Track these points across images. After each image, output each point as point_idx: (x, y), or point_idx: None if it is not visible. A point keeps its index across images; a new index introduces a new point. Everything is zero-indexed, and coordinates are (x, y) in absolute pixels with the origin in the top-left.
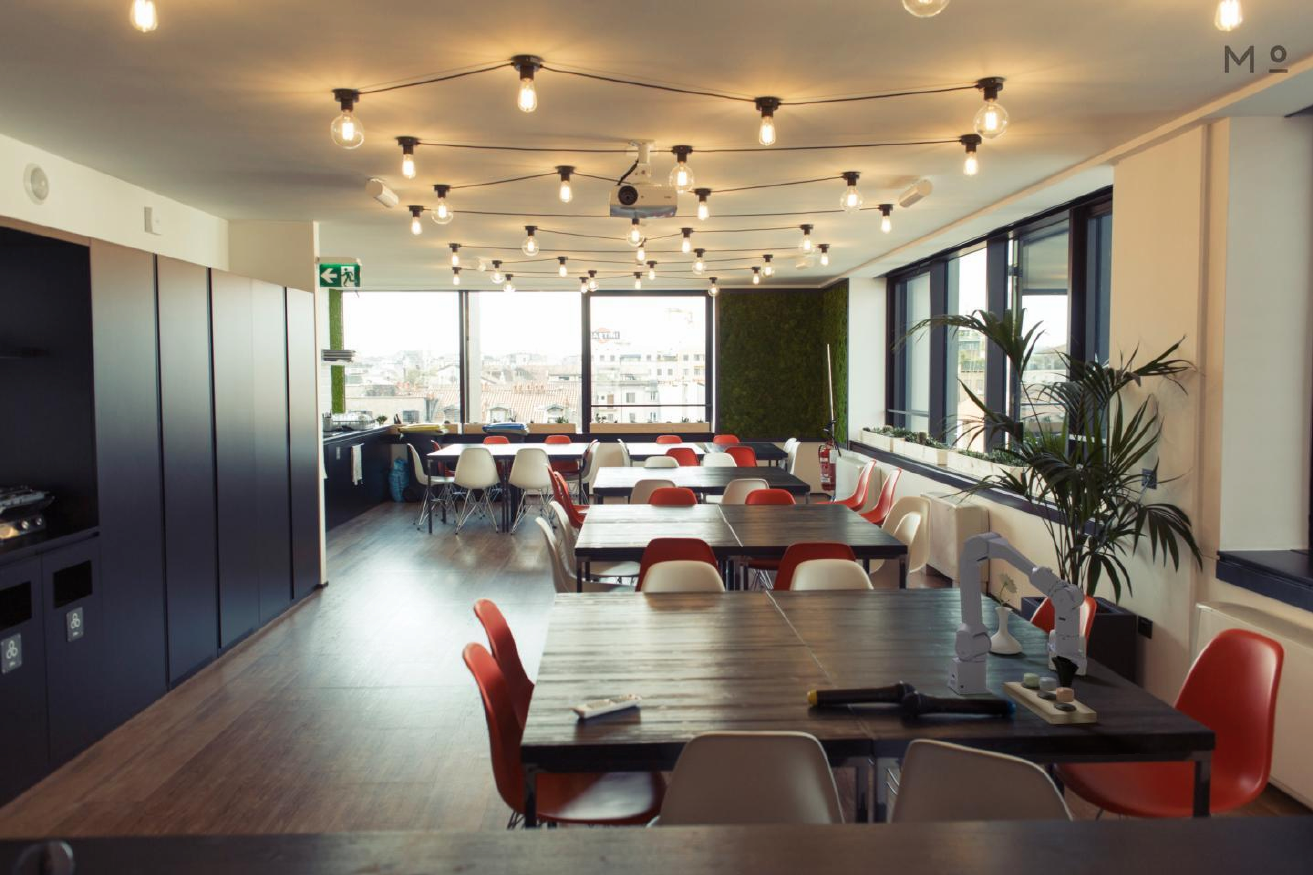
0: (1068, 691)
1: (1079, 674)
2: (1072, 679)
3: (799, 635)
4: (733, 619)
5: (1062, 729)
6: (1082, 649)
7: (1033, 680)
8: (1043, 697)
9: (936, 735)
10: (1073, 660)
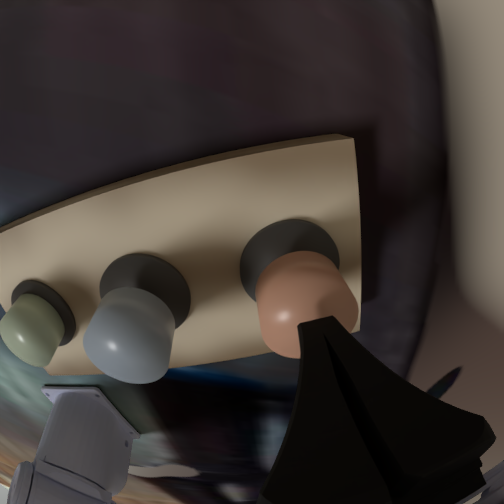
0: (337, 313)
1: None
2: (364, 349)
3: (4, 463)
4: (5, 475)
5: (391, 286)
6: None
7: (53, 341)
8: (177, 322)
9: None
10: (495, 483)
